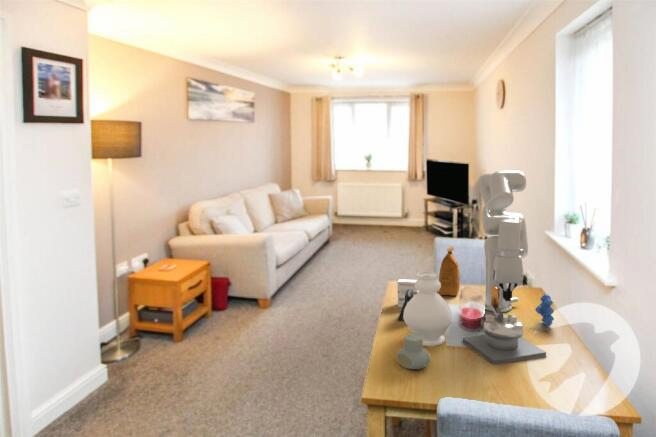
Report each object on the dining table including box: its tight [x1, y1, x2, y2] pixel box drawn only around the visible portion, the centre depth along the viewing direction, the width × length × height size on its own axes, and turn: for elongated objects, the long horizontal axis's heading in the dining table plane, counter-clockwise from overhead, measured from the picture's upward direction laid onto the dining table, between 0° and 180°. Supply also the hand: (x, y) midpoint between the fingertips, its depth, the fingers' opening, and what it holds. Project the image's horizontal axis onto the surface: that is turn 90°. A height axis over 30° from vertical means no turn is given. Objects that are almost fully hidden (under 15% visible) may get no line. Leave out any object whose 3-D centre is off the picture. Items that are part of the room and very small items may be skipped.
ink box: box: [397, 278, 419, 308], centre depth 220 cm, size 9×5×12 cm, turn 75°
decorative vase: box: [403, 271, 453, 347], centre depth 183 cm, size 18×18×25 cm
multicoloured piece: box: [483, 286, 524, 340], centre depth 178 cm, size 23×13×12 cm, turn 172°
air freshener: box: [396, 333, 431, 370], centre depth 164 cm, size 11×8×10 cm
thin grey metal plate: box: [462, 333, 547, 366], centre depth 175 cm, size 20×20×6 cm
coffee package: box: [438, 245, 461, 296], centre depth 236 cm, size 10×12×22 cm
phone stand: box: [397, 289, 414, 323], centre depth 205 cm, size 9×6×12 cm, turn 74°
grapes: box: [534, 293, 555, 328], centre depth 195 cm, size 12×7×12 cm, turn 170°
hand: (507, 299), depth 187 cm, fingers closed
